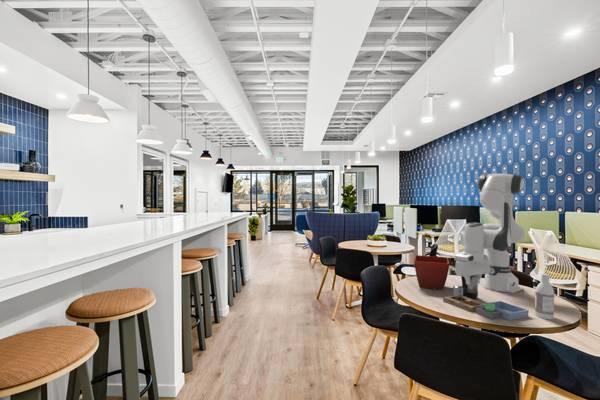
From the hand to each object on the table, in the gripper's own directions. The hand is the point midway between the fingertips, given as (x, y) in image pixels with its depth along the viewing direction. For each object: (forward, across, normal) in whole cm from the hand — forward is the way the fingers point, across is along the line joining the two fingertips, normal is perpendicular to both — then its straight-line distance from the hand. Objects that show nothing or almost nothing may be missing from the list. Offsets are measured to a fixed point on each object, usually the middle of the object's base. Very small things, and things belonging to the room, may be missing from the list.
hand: (472, 283), depth 156 cm
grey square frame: (+12, +1, +10) cm, 16 cm away
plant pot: (+12, -10, -36) cm, 40 cm away
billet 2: (+4, 0, 0) cm, 4 cm away
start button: (+10, +1, +10) cm, 14 cm away
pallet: (+12, 0, -4) cm, 13 cm away
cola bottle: (+12, -13, -12) cm, 22 cm away
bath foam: (+12, -22, +20) cm, 32 cm away
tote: (+12, -8, +11) cm, 18 cm away
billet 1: (+12, 0, -8) cm, 14 cm away
